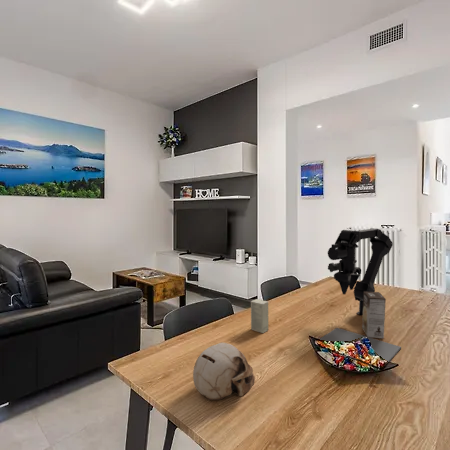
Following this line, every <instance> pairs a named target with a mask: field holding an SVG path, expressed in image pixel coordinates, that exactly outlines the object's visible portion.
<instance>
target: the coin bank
mask: <svg viewBox="0 0 450 450" xmlns="http://www.w3.org/2000/svg"><path fill="white" fill-rule="evenodd" d="M193 366H194V367H193V371H192V378H193V384H194V387H195V389H196V390H197V391H198V393H199V394H200V395H202V396H204V397H206V399H207V400H210V401H218V400H219V401H220V400H224V399H225V398H226V397H228V396H230V395H232V393H234V394H235V395H236V396H238V397H242V396H244V395H245V394H246V393H248V392H249V391H250V390H251V388H252V387H253V386H254V385H255V380H256V378H255V375H254V370H253V367H252V366H251V365H250V363H248V360H247V358H246V356H245V355H244V353H243V352H242V351H241V350H239V348H237V347H236V346H235V345H233V344H231V343H227V342H219V343H217V344H213V345H211V346H208V347H207V348H206V349H204V350H203V351H202V352H201V353H200V354H199V356H197V358H196V360H195V363H194V365H193Z"/></svg>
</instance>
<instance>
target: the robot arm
mask: <svg viewBox="0 0 450 450" xmlns="http://www.w3.org/2000/svg"><path fill="white" fill-rule="evenodd" d="M365 239H369V242H370V243H371V246H370V248H371V251H372V253H371V256H370V259H369V262H368V265H367V266H366V270H365V272H364V275H363V278H362V280H360V281H359V280H358V279H359V277H361V274H362V269H361V267H357V266H356V263H357V259H356V248H359V245H358V244H357V243H359V242H360V241H361V240H365ZM392 248H393V241H392V239H391V238H390V236H388V235H387V234H385V233H384V232H383V231H382V229H380V228H373V227H371V228H368V229H360V230H349V229H343V230H340V233H339V234H338V235H337V239H336V240H335V241H334V243H333V244H331V247H330V248H329V249H328V250H327V256H328V258H329V260H331V261H339V262H335V263H334V262H331V263H328V265H327V270H329V272H330V273H333V272H335V273H334V274H333V280H335V281H337V282H338V283H339V286H340V289H341V292H342V295H346V294H347V291H348V289H349V290H350V291H351V290H352V291H353V296H354V300H355V301H357V302H359V303H358V305H359V307H358V311H357V312H356V313H355V314H356V315H358V316H362V317H363V293H364V292H376V290H375V281H376V278H377V276H378V273H379V270H380V268H381V265H382V262H383V259H384V257H385V256H387V255H388V254H389V253H390V251H391V250H392ZM336 271H337V272H336Z"/></svg>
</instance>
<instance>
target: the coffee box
mask: <svg viewBox="0 0 450 450" xmlns="http://www.w3.org/2000/svg"><path fill="white" fill-rule="evenodd" d="M386 300H387V299H386V298H385V297H384V295H382V294H381V292H379V291H375V292H364V293H363V316H362V320H361V321H362V322H361V324H362V327H361V328H362V330H363V332H364V334H365V336H367V337H370V338H373V339H376V338H377V339H385V320H386V302H387V301H386Z"/></svg>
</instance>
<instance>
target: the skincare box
mask: <svg viewBox="0 0 450 450" xmlns="http://www.w3.org/2000/svg"><path fill="white" fill-rule="evenodd" d="M250 328H251V329H250V330H252V331H255V332H258V333H261V334H264V333H266V332H268V331H269V301H267V300H264V299H259V298H256V299H253V300H251V301H250Z"/></svg>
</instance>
